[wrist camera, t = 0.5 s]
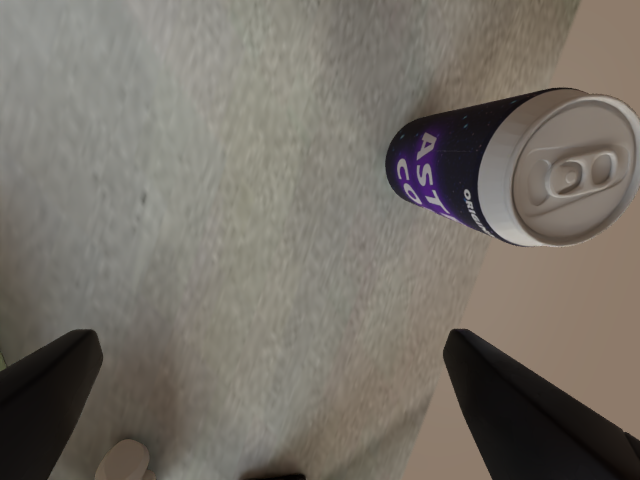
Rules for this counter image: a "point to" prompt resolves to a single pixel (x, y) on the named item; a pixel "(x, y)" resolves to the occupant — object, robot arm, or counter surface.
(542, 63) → the counter surface
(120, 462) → the pale two-lobed sculpture
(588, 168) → the beverage can
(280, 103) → the counter surface
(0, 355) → the scale
